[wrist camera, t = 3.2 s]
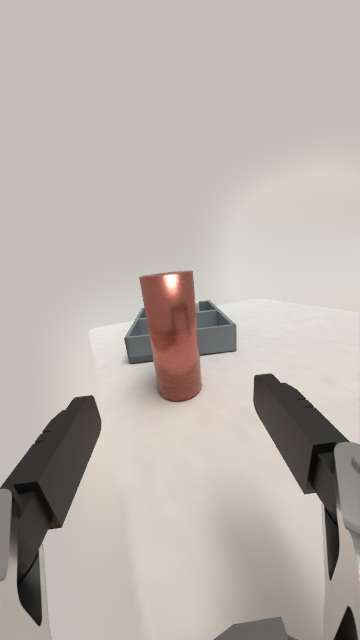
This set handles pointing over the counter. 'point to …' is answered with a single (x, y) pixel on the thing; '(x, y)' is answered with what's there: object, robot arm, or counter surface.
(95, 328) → the counter surface
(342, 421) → the counter surface
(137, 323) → the tray
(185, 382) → the copper cylinder
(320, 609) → the counter surface
